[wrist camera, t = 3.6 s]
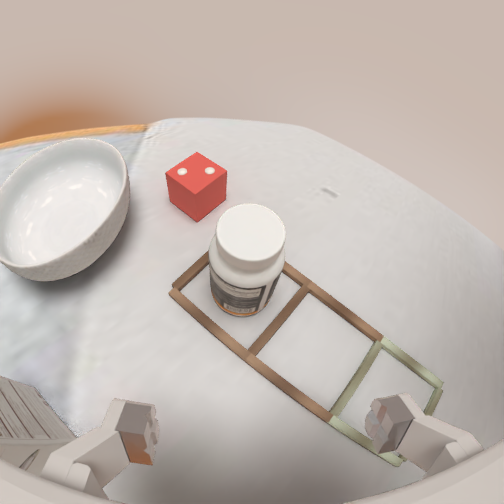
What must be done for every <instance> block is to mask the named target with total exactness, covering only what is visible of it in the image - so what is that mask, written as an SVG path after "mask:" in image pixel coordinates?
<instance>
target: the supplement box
mask: <svg viewBox="0 0 504 504" xmlns="http://www.w3.org/2000/svg"><path fill="white" fill-rule="evenodd" d="M75 439H77V437H76V436H75V435H74V434H73V433H72V432H71V431H70V430H69V429H68V427H67V426H66V425H65V424H64V423H63V422H62V421H61V419H60V418H59V417H58V416H57V415H56V413H55V412H54V411H53V410H52V409H51V407H50V406H49V405H48V404H47V402H46V401H45V400H44V398H43V397H42V396H41V395H40V393H39V392H38V391H37V389H36V388H35V387H31V386H28V385H25V384H22V383H19V382H16V381H13V380H10V379H7V378H5V377H2V376H0V458H1V459H3V460H5V461H7V462H9V463H11V464H13V465H15V466H17V467H19V468H21V469H23V470H25V471H27V472H30V473H32V474H34V475H37V476H39V477H40V475H41V472H42V470H43V468H44V466H45V464H46V462H47V460H48V458H49V456H50V454H51V453H52V452H54V451H56V450H57V449H59V448H61V447H63V446H65V445H66V444H68V443H70V442H72V441H73V440H75Z"/></svg>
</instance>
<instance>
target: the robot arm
mask: <svg viewBox="0 0 504 504" xmlns="http://www.w3.org/2000/svg"><path fill="white" fill-rule="evenodd" d="M370 407H371V409H372V410H371V411H370V412H369V413H368V414H367V416H366V419H365V429H366V432H367V434H368V436H370V437H372V438H373V442H372V444H373V446H374V448H375V450H376V452H377V454H382V453H386V452H390V451H394V450H396V451H397V452H398V453H399V454H401V455H402V456H404V457H405V458H407V459H408V460H410V461H411V462H413V463H414V464H416V465H417V466H419V467H420V468H422V469H423V470H425V471H426V472H427V473H426V474H425V475H424V476H423V478H422V479H421V480H420V481H417V482H414V483H412V484H409V485H406V486H403V487H400V488H397V489H394V490H391V491H388V492H384V493H381V494H378V495H374V496H370V497H367V498H363V499H359V500H355V501H350V502H346V503H341V504H504V439H502V440H501V441H499V442H497V443H496V444H494V445H492V446H491V447H489V448H487V449H485V450H484V449H483V447H482V446H481V445H480V444H479V442H478V441H477V440H476V439H475V438H474V436H473V435H472V434H471V433H469V432H467V431H464V430H462V429H460V428H457V427H455V426H452V425H450V424H448V423H445V422H443V421H441V420H438V419H436V418H434V417H432V416H429V415H428V416H426V415H425V414H424V413H423V412H422V410H421V409H420V408H419V406H418V405H417V404H416V402H415V401H414V400H413V399H412V397H411V396H410V395H409V394H408V393H402V394H398V395H393V396H388V397H383V398H378V399H374V400H373V401H372V403H371V406H370ZM155 414H156V409H155V405H153V404H147V403H140V402H134V401H127V400H121V399H116V398H115V399H114V400H112V402H111V404H110V407H109V409H108V411H107V414H106V416H105V418H104V420H103V423H102V425H101V427H96V428H94V429H92V430H91V431H89V432H87V433H86V434H84V435H82V436H80V437H79V438H77V439H75V440H73V441H72V442H70V443H68V444H66V445H65V446H63V447H61V448H59V449H57V450H56V451H54V452H52V453H51V454H50V456H49V458H48V460H47V462H46V464H45V466H44V468H43V470H42V472H41V475H40V477H39V476H37V475H34V474H32V473H30V472H27V471H25V470H23V469H21V468H19V467H17V466H15V465H13V464H11V463H9V462H7V461H5V460H3V459H1V458H0V504H126V503H121V502H117V501H112V500H109V499H108V497H107V496H106V494H105V492H104V491H103V489H102V488H103V487H104V486H105V485H106V484H107V483H109V482H110V481H111V480H112V479H113V478H114V477H115V476H117V475H118V474H119V473H120V472H121V471H122V470H123V469H124V468H126V467H127V466H128V465H129V464H130V462H132V463H139V464H147V465H153V461H154V457H155V448H154V445H155V444H157V442H158V436H159V425H158V420H157V419H156V418H155Z"/></svg>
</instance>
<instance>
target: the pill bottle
mask: <svg viewBox="0 0 504 504" xmlns="http://www.w3.org/2000/svg"><path fill="white" fill-rule="evenodd" d="M285 238H286V231H285V227H284V224H283V222H282V220H281V219H280V217H279V216H278V215H277V214H276V213H275V212H273V211H272V210H270V209H269V208H267V207H265V206H262V205H259V204H251V203H247V204H239V205H236V206H234V207H232V208H230V209H228V210H227V211H225V212H224V213H223V214H222V216H221V217H220V219H219V220H218V223H217V226H216V234H215V235H214V237H213V239H212V241H211V243H210V246H209V252H208V258H209V268H210V283H211V291H212V295H213V298H214V300H215V302H216V303H217V304H218V306H219V307H220V308H222V309H223V310H224V311H226V312H227V313H229V314H232V315H236V316H249V315H253V314H255V313H258V312H259V311H261V310H262V309H263V308H264V307H265V306H266V305H267V304H268V302H269V300H270V298H271V296H272V294H273V291H274V289H275V286H276V284H277V282H278V279H279V277H280V274H281V272H282V269H283V267H284V263H285V249H284V243H285Z"/></svg>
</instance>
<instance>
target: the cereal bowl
mask: <svg viewBox="0 0 504 504" xmlns="http://www.w3.org/2000/svg"><path fill="white" fill-rule="evenodd" d="M129 198H130V182H129V176H128V170H127V166H126V163H125V161H124V159H123V157H122V155H121V154H120V152H119V151H118V150H117V149H116V148H115V147H114V146H112V145H111V144H109V143H107V142H104V141H102V140H98V139H92V138H77V139H70V140H65V141H62V142H59V143H56V144H53V145H51V146H49V147H46V148H44V149H42V150H40V151H39V152H37V153H35V154H34V155H32V156H31V157H29V158H28V159H27V160H25V161H24V162H23V163H22V164H20V165H19V166H18V167H17V168H16V169H15V170H14V171H13V172H12V173H11V174H10V176H9V177H8V178H7V179H6V180H5V182H4V183H3V185H2V186H1V188H0V262H1V263H2V264H4V265H5V266H6V267H7V268H8V269H10V270H11V271H12V272H14V273H16V274H17V275H20V276H22V277H24V278H27V279H31V280H33V281H35V280H36V281H54V280H59V279H63V278H66V277H70V276H71V275H73V274H76V273H78V272H80V271H81V270H84V269H85V268H86V267H88V266H89V265H91V264H92V263H93V262H95V261H96V260H97V259H98V258H99V257H100V256H101V255H102V254H103V253H104V252H105V251H106V250H107V248H109V246H110V245H111V244H112V243H113V241H114V239H115V238H116V237H117V235H118V233H119V231H120V230H121V227H122V225H123V223H124V220H125V218H126V215H127V211H128V206H129Z"/></svg>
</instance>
